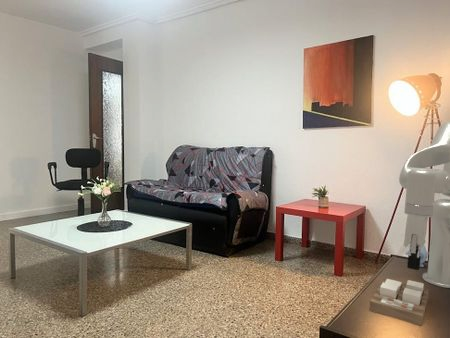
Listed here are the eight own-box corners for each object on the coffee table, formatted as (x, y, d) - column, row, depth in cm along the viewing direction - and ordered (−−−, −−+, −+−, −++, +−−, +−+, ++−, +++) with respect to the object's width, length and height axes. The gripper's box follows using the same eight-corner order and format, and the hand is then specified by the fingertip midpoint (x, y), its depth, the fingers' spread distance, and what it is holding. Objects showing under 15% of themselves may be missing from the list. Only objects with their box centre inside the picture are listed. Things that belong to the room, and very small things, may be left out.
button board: (383, 286, 122) (383, 277, 122) (428, 298, 114) (428, 288, 114) (369, 310, 104) (370, 299, 104) (421, 325, 96) (422, 314, 96)
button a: (386, 286, 119) (387, 278, 119) (400, 290, 117) (401, 282, 116) (383, 290, 116) (384, 282, 115) (398, 294, 113) (399, 286, 113)
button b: (407, 287, 115) (408, 279, 115) (423, 291, 113) (423, 283, 113) (405, 292, 112) (406, 284, 111) (421, 296, 109) (422, 288, 109)
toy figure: (403, 265, 146) (405, 237, 145) (405, 261, 151) (407, 234, 150) (432, 271, 140) (434, 242, 139) (433, 266, 145) (435, 239, 144)
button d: (404, 296, 109) (404, 287, 109) (420, 300, 106) (421, 291, 106) (402, 301, 105) (402, 292, 105) (419, 305, 103) (419, 297, 102)
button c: (382, 290, 113) (382, 282, 112) (397, 294, 110) (398, 286, 110) (379, 295, 109) (380, 286, 109) (395, 299, 106) (396, 290, 106)
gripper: (408, 205, 112) (403, 259, 113) (401, 211, 100) (395, 272, 101) (434, 208, 108) (429, 265, 109) (430, 215, 95) (425, 278, 97)
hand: (413, 268), depth 105 cm, fingers closed
